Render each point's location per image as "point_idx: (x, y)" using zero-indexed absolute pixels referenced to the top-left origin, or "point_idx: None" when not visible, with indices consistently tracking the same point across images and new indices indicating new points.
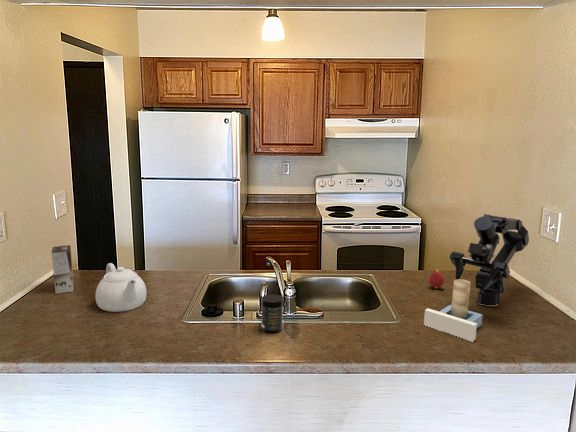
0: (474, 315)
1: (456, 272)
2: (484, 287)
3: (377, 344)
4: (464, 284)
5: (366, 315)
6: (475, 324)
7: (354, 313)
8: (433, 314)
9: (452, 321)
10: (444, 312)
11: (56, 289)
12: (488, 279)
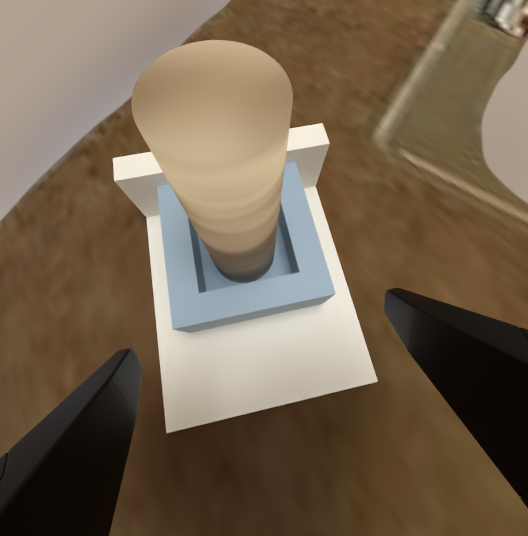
0: (190, 284)
1: (494, 323)
2: (116, 357)
3: (297, 30)
4: (158, 61)
5: (454, 103)
6: (114, 168)
7: (480, 87)
8: None
9: None
10: (287, 204)
11: None
12: (33, 444)
